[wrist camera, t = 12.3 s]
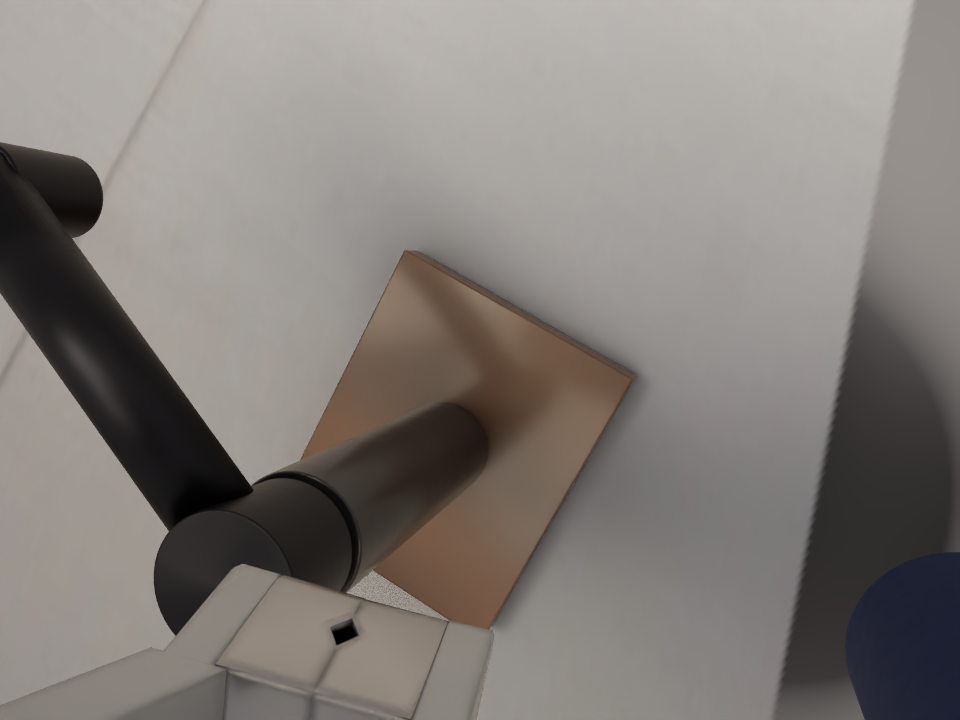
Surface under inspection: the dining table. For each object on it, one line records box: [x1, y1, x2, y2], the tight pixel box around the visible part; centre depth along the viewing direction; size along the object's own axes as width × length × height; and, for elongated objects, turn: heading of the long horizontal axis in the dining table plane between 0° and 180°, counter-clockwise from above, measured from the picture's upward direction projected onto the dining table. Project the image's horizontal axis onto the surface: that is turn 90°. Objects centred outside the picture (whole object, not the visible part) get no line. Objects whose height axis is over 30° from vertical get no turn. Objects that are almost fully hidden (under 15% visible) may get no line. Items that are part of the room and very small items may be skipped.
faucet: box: [251, 250, 636, 629], centre depth 28 cm, size 12×10×14 cm
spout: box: [0, 142, 352, 636], centre depth 21 cm, size 14×3×4 cm, turn 39°
